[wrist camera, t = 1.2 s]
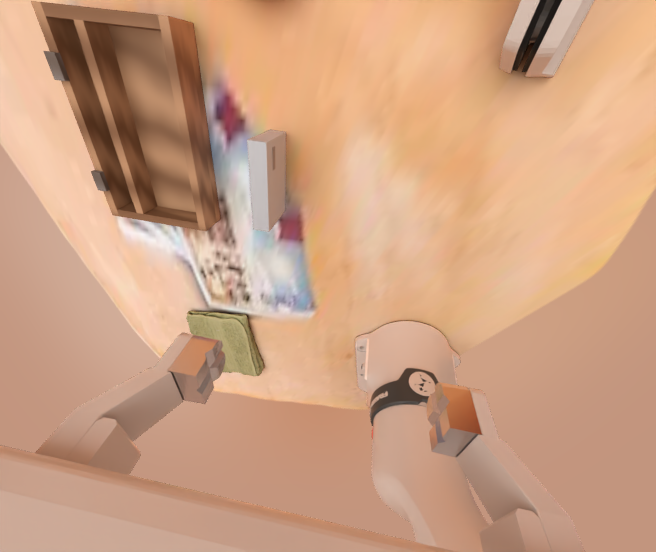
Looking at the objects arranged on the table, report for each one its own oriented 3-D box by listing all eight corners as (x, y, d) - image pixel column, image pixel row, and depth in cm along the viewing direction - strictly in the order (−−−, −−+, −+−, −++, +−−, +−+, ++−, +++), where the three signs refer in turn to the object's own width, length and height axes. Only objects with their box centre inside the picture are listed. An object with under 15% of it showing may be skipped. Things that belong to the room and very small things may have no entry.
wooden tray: (220, 218, 42) (203, 233, 38) (133, 204, 43) (108, 216, 39) (193, 23, 29) (163, 14, 25) (69, 9, 30) (23, -1, 26)
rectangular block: (286, 210, 40) (269, 232, 34) (271, 207, 40) (253, 229, 34) (286, 131, 34) (266, 142, 28) (270, 129, 34) (247, 139, 28)
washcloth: (248, 308, 53) (241, 320, 50) (267, 368, 63) (262, 380, 60) (187, 305, 55) (177, 316, 53) (214, 363, 65) (207, 375, 63)
